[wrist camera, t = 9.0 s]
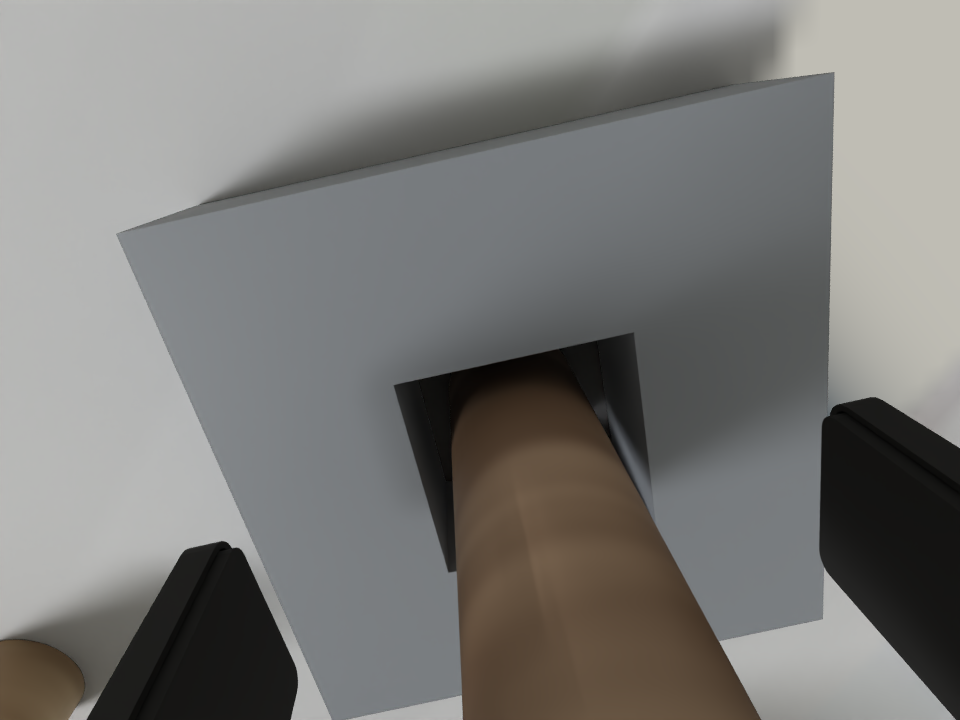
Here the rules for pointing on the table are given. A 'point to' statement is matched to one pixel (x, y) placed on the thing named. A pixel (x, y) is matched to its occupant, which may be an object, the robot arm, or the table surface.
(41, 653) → the short pin
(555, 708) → the long pin
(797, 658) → the table surface
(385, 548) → the block
